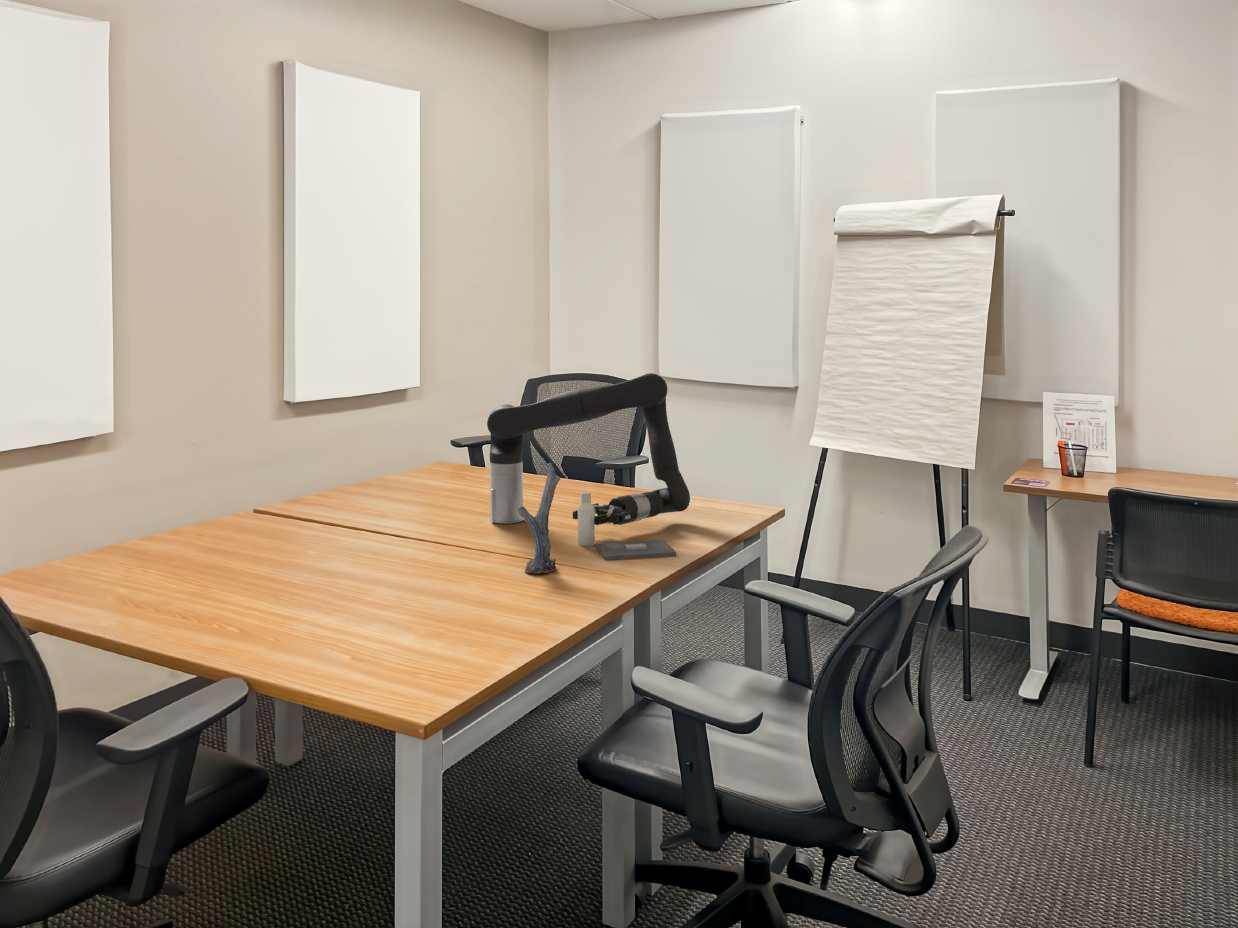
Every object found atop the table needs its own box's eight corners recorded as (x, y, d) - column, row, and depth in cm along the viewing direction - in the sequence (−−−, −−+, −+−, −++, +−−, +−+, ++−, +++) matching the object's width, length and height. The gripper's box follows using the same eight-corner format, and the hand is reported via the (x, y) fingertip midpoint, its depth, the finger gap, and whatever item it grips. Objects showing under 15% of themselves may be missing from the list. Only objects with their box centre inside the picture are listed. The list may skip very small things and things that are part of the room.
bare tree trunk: (544, 577, 224) (542, 471, 220) (515, 572, 228) (513, 468, 223) (568, 564, 234) (567, 463, 230) (540, 560, 238) (539, 460, 233)
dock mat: (605, 560, 238) (605, 553, 238) (596, 547, 250) (596, 541, 249) (676, 555, 242) (676, 549, 241) (664, 543, 253) (664, 537, 253)
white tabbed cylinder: (579, 546, 251) (578, 495, 248) (576, 542, 255) (576, 492, 252) (596, 545, 251) (595, 494, 249) (593, 541, 256) (592, 491, 253)
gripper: (611, 491, 267) (566, 499, 256) (648, 499, 256) (602, 508, 246) (611, 517, 268) (566, 527, 257) (647, 526, 258) (602, 537, 247)
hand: (584, 518), depth 251 cm, fingers open, 8 cm apart
